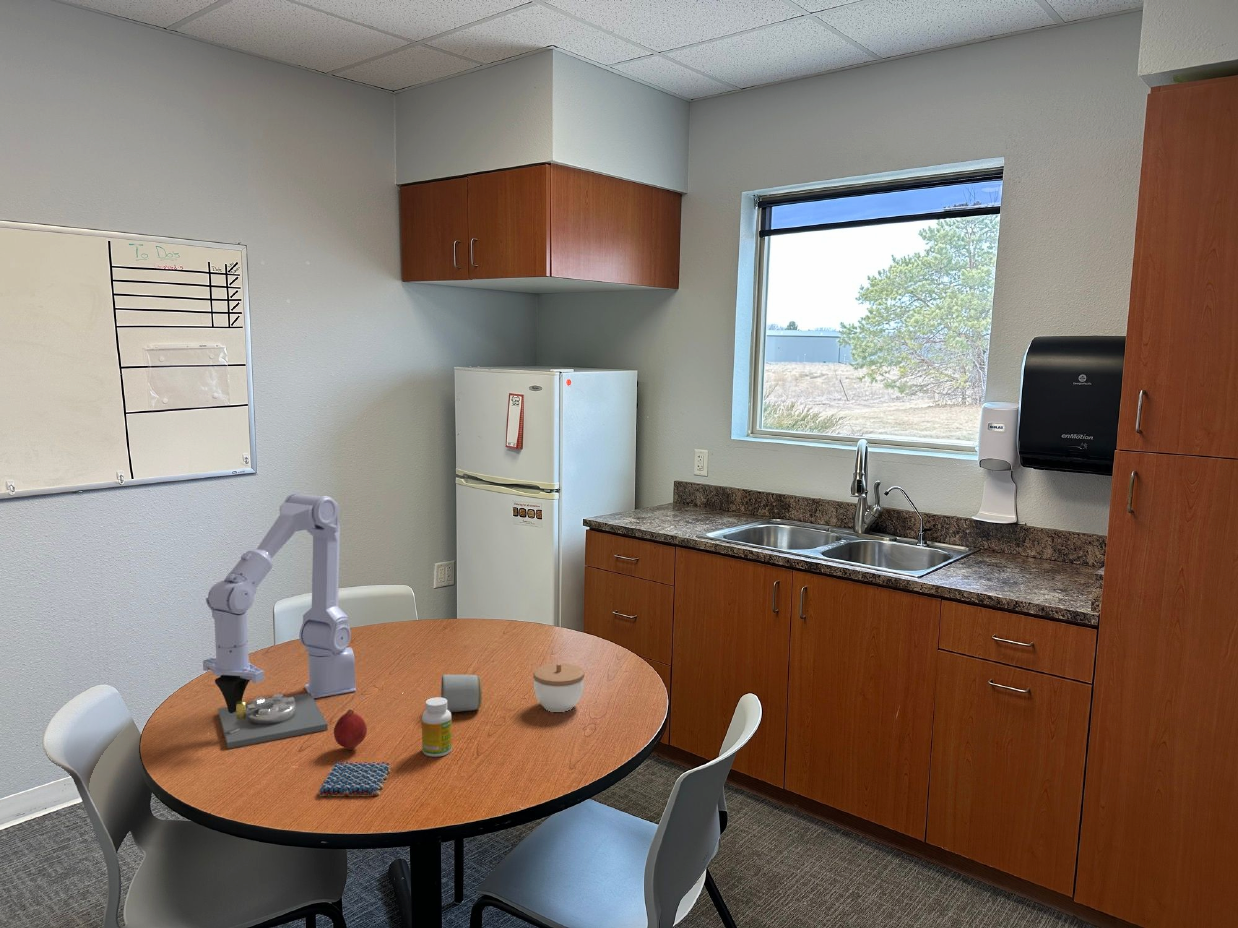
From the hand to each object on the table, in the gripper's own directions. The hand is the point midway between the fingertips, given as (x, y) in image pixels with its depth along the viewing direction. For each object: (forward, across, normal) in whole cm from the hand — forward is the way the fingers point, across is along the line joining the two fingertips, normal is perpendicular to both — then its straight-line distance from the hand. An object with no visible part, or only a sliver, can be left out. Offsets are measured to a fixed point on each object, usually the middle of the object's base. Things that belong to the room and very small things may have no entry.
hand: (234, 711), depth 168 cm
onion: (+5, +25, +5) cm, 26 cm away
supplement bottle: (+5, +39, +12) cm, 41 cm away
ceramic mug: (+5, +30, +31) cm, 43 cm away
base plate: (+4, +2, +7) cm, 9 cm away
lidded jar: (+5, +49, +41) cm, 64 cm away
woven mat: (+5, +34, -4) cm, 35 cm away
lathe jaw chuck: (+3, +2, +5) cm, 6 cm away
